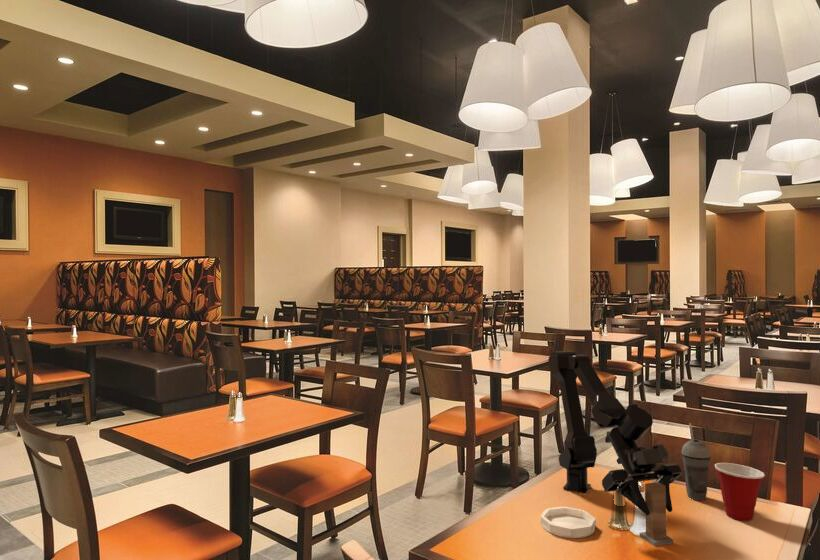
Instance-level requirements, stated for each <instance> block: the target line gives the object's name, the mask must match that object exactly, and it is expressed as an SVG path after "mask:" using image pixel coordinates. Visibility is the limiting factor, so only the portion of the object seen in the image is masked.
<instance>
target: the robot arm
mask: <svg viewBox="0 0 820 560" xmlns="http://www.w3.org/2000/svg"><path fill="white" fill-rule="evenodd" d="M591 363H592V362H591V358H590V356H589V355H587V354H579V353H576V352H575V351H574V350H563V351H562V350H559V351H552V353H551V354H550V355H549V356H548V366H549V368H550V371H551V375H552V376H553V377H554V378H555V379H556V381H557V382H558V384H559V389H560V395H561V401H562V406H563V412H564V418H565V425H566V429H567V430H566V431H567V433H566V436H565V439H564V441H563V447H564V450H563V451H562V452H561V454H560V455H559V456H558V463H559V466H560V467H562V468H564V469H566V484H565V485H563V487H562V489H563V490H566V491H571V492H577V493H583V494H586V493H588V491H589V490H590V489H591V486H592V484H590V483H588V481H589V480H588V469H589V468H595V465H596V460H597V457H598V449H597V447H596V440H595V439H596V438H595V437H594V436H593V435H589V433H588V432H587V430H586V427H585V421H584V415H583V411H582V404H581V400H580V394H579V389H578V384H577V379H578V380H579V382H580V384H581V386H582V388H583V389H584V391H585V392H586V395H587V396H588V398H589V400H590V402H591V411H590V412H591V414H592V416H593V420H594V421H595V424H597V426H598V427H599V428H602V429H608V428H609V429H610V428H612V429H611V430H610V431H607V432H606V435H605V437H604V438H605V439H604V442H605V443H607V444H608V443H611V445H612V447H613V450H614V451H615V454H616V456H617V459H616V463H617V464H618V465H621V466H622V467H623V468H620V469H614V470H613V469H612V470H611V469H610V470H609V471H608V473H607V474H606V475H605V476H604V477H603V478H602V480H601V486H602V488H603V490H604V492H606V493H610V492H616V494H618V495H622V496H623V497H624V498H626V499H627V500H628V501H629V502H631V503H632V504H633V505H634V506H635V507H637V508H638V509H639V510H640V511H641V512H642V513H643V514H644V515H645V516H646V515H649V514H650V511H649V509H648V506H647V504H646V502H645V497H643V494H642V492H641V490H640V487H639V482H646V481H652V483H655V482H659V483H661V484H663V485H665V486H666V511H668V512H669V513H671V512H672V511H673V505H672V499H671V492H670V486H671V485H670V484H672V483H674V482H675V481H676V480H677V479H678V478H679V477H680V476H681V475H682V474H684V472H683V470H682V468H681V467H680V465H679V464H678V463H674V462H672V463H665V460H664V459H668V458H669V455H668V454H669V453H668V451H667V449H666V447H665V445H664V444H656V445H653V446H652V448H649V449H646V448H645V447H644V446H640V445H639V444H638V440H640V439H641V438H642V437H643V436H644V435H645V433H647V432H648V430H649V429H650V428H651V427H652V425H653V424H654V421H653V417H652V415H651V414H650V413H648V412H647V411H646V409H643V408H641V407H639V406H638V405H637V403H632V404H628V405H627V407H626V408H625V406H624V405H623V404H622V403H621V402H620V400H619V399H618V398H616V397H615V396H613V395H611V394H610V393H609V391H608V390H607V388H606V387H605V385H604V383H603V381H602V380H601V378H600V376H599V375H598V373H597V371H596V370H595V368H594V367H593V365H592V364H591ZM657 463H662V464H661V465H660V466H659V467H658V468H656V467H657ZM655 468H656V470H653V469H655Z"/></svg>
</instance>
